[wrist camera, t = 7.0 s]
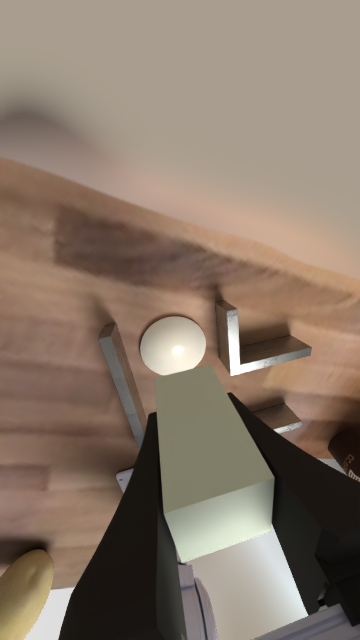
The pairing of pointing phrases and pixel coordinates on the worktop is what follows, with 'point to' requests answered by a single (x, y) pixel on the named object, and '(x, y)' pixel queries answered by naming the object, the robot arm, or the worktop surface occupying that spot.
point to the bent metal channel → (230, 356)
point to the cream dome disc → (172, 345)
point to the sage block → (208, 466)
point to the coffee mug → (347, 451)
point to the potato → (24, 593)
